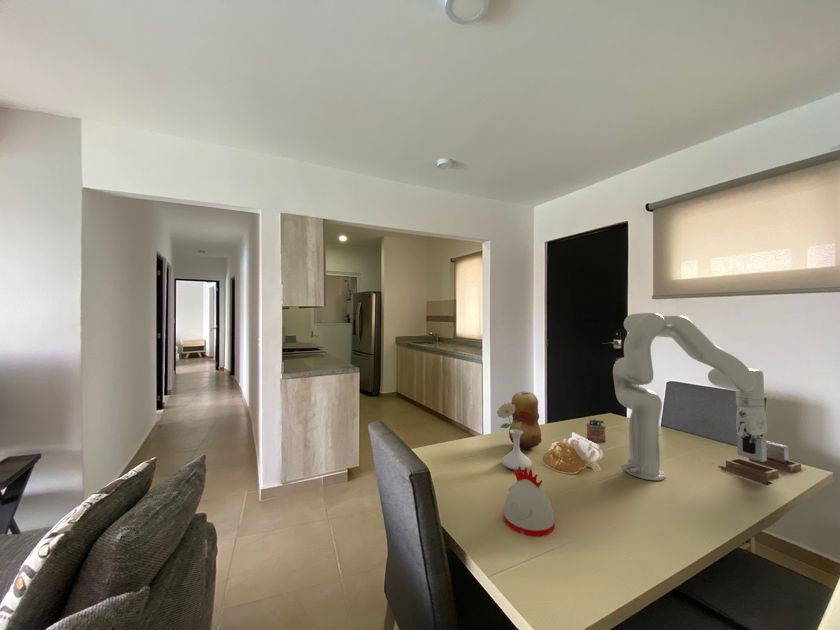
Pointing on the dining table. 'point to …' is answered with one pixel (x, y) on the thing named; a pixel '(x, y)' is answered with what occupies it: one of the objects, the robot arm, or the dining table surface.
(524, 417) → the butternut squash
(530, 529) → the kitchen timer
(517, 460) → the flower in vase
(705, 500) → the dining table surface
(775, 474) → the brown flat slotted piece
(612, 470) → the dining table surface
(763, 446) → the billet
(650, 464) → the robot arm
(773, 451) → the block
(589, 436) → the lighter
